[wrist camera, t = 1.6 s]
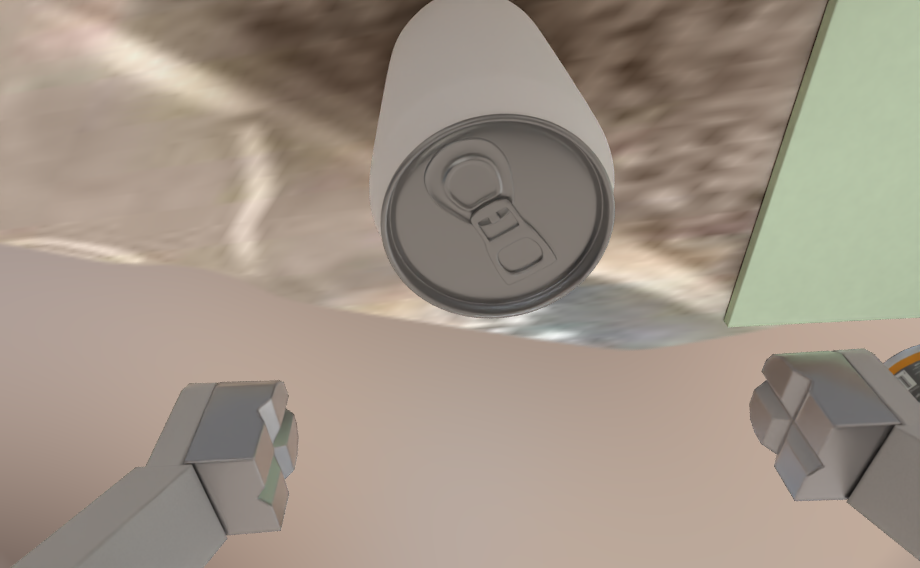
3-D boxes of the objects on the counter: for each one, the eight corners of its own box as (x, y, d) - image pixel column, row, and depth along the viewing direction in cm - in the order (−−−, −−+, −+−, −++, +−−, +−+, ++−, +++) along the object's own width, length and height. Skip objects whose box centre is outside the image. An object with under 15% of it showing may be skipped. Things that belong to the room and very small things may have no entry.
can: (498, -51, 21) (559, 30, 11) (574, 98, 24) (672, 260, 14) (356, 51, 23) (303, 195, 13) (445, 176, 26) (456, 364, 16)
